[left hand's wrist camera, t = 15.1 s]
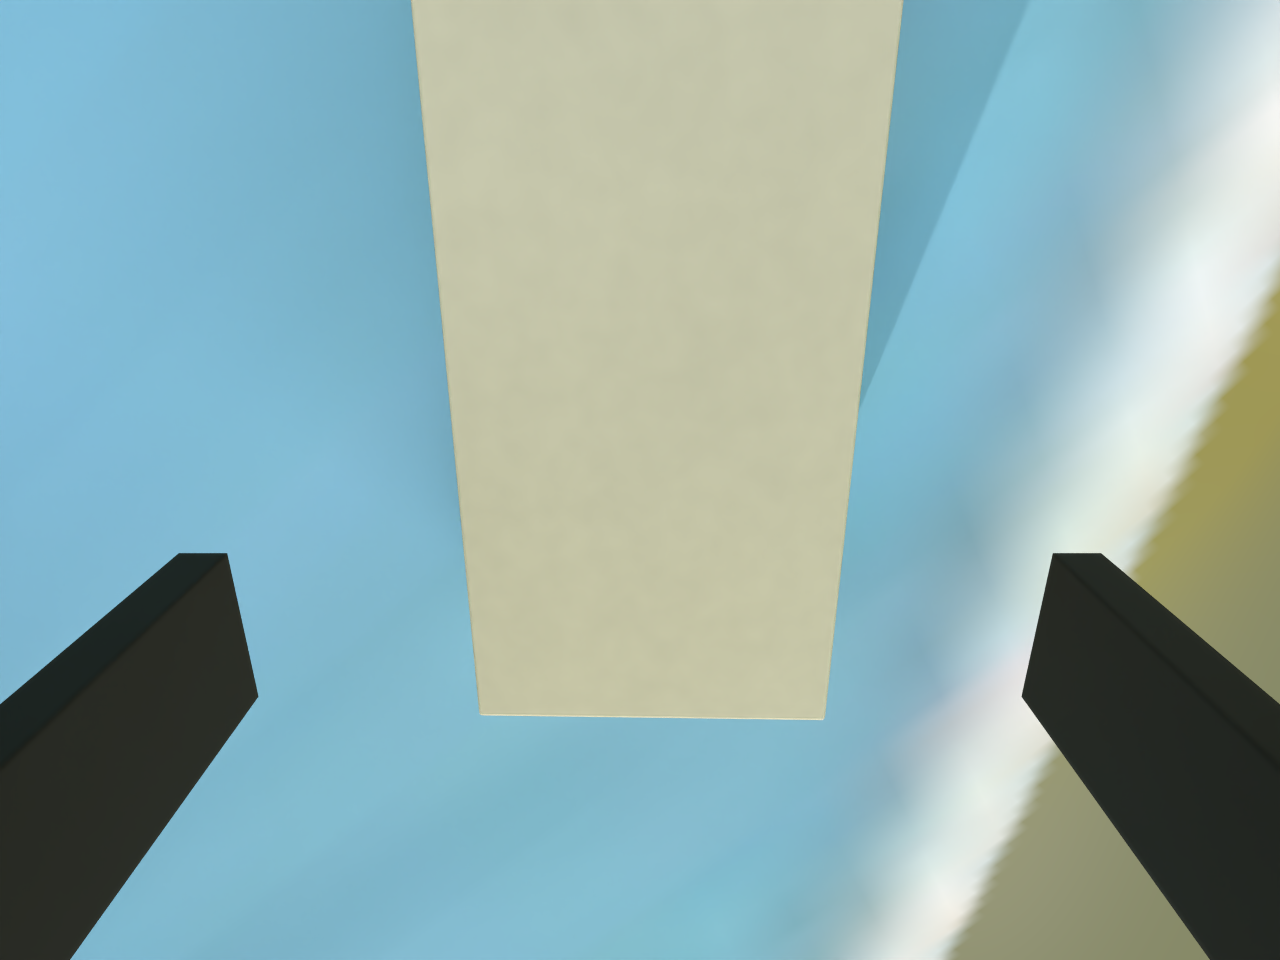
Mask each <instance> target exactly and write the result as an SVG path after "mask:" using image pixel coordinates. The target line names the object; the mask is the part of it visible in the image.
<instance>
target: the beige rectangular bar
mask: <svg viewBox="0 0 1280 960" xmlns="http://www.w3.org/2000/svg"><path fill="white" fill-rule="evenodd" d="M411 7H412V17H413V28H414V38H415V48H416V59H417V69H418V80H419V90H420V100H421V111H422V121H423V132H424V142H425V153H426V163H427V173H428V184H429V194H430V205H431V215H432V225H433V236H434V246H435V257H436V267H437V277H438V288H439V298H440V309H441V319H442V329H443V340H444V350H445V361H446V371H447V381H448V392H449V402H450V413H451V423H452V433H453V444H454V454H455V465H456V475H457V485H458V496H459V506H460V517H461V527H462V537H463V548H464V558H465V569H466V579H467V589H468V600H469V610H470V621H471V631H472V641H473V652H474V662H475V673H476V683H477V693H478V704H479V713H480V715H503V716H577V717H650V718H723V719H797V720H823V719H824V717H825V710H826V701H827V692H828V683H829V674H830V665H831V656H832V647H833V637H834V628H835V619H836V610H837V601H838V592H839V583H840V574H841V565H842V555H843V546H844V537H845V528H846V519H847V510H848V501H849V492H850V483H851V473H852V464H853V455H854V446H855V437H856V428H857V419H858V410H859V401H860V391H861V382H862V373H863V364H864V355H865V346H866V337H867V328H868V319H869V310H870V300H871V291H872V282H873V273H874V264H875V255H876V246H877V237H878V228H879V218H880V209H881V200H882V191H883V182H884V173H885V164H886V155H887V146H888V136H889V127H890V118H891V109H892V100H893V91H894V82H895V73H896V64H897V54H898V45H899V36H900V27H901V18H902V9H903V0H411Z"/></svg>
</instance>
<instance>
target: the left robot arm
mask: <svg viewBox="0 0 1280 960" xmlns="http://www.w3.org/2000/svg"><path fill="white" fill-rule="evenodd" d="M257 698H258V693H257V688H256V683H255V679H254V674H253V670H252V665H251V660H250V656H249V651H248V647H247V642H246V638H245V633H244V628H243V624H242V619H241V615H240V610H239V606H238V601H237V596H236V592H235V587H234V583H233V578H232V574H231V569H230V564H229V560H228V555H227V553H179V554H177V555H176V556H175V557H174V558H173V559H172V560H170V561H169V562H168V563H167V564H166V565H164V566H163V567H162V568H161V569H160V570H159V571H157V572H156V573H155V574H154V575H153V576H151V577H150V578H149V579H148V580H147V581H146V582H144V583H143V584H142V585H141V586H140V587H138V588H137V589H136V590H135V591H134V592H133V593H131V594H130V595H129V596H128V597H127V598H125V599H124V600H123V601H122V602H121V603H120V604H118V605H117V606H116V607H115V608H114V609H112V610H111V611H110V612H109V613H108V614H107V615H105V616H104V617H103V618H102V619H101V620H99V621H98V622H97V623H96V624H95V625H94V626H92V627H91V628H90V629H89V630H88V631H86V632H85V633H84V634H83V635H82V636H80V637H79V638H78V639H77V640H76V641H75V642H73V643H72V644H71V645H70V646H69V647H67V648H66V649H65V650H64V651H63V652H62V653H60V654H59V655H58V656H57V657H56V658H54V659H53V660H52V661H51V662H50V663H49V664H47V665H46V666H45V667H44V668H43V669H41V670H40V671H39V672H38V673H37V674H36V675H34V676H33V677H32V678H31V679H30V680H28V681H27V682H26V683H25V684H24V685H23V686H21V687H20V688H19V689H18V690H17V691H15V692H14V693H13V694H12V695H11V696H10V697H8V698H7V699H6V700H5V701H4V702H2V703H1V704H0V960H70V959H71V958H72V956H73V955H74V953H75V952H76V951H77V949H78V948H79V946H80V945H81V944H82V942H83V941H84V939H85V938H86V937H87V935H88V934H89V932H90V931H91V930H92V928H93V927H94V925H95V924H96V923H97V921H98V920H99V918H100V917H101V916H102V914H103V913H104V911H105V910H106V909H107V907H108V906H109V905H110V903H111V902H112V900H113V899H114V898H115V896H116V895H117V893H118V892H119V891H120V889H121V888H122V886H123V885H124V884H125V882H126V881H127V879H128V878H129V877H130V875H131V874H132V872H133V871H134V870H135V868H136V867H137V865H138V864H139V863H140V861H141V860H142V858H143V857H144V856H145V854H146V853H147V851H148V850H149V849H150V847H151V846H152V844H153V843H154V842H155V840H156V839H157V837H158V836H159V835H160V833H161V832H162V830H163V829H164V828H165V826H166V825H167V823H168V822H169V821H170V819H171V818H172V817H173V815H174V814H175V812H176V811H177V810H178V808H179V807H180V805H181V804H182V803H183V801H184V800H185V798H186V797H187V796H188V794H189V793H190V791H191V790H192V789H193V787H194V786H195V784H196V783H197V782H198V780H199V779H200V777H201V776H202V775H203V773H204V772H205V770H206V769H207V768H208V766H209V765H210V763H211V762H212V761H213V759H214V758H215V756H216V755H217V754H218V752H219V751H220V749H221V748H222V747H223V745H224V744H225V742H226V741H227V740H228V738H229V737H230V735H231V734H232V733H233V731H234V730H235V729H236V727H237V726H238V724H239V723H240V722H241V720H242V719H243V717H244V716H245V715H246V713H247V712H248V710H249V709H250V708H251V706H252V705H253V703H254V702H255V701H256V699H257ZM1022 698H1023V699H1024V701H1025V702H1026V703H1027V705H1028V706H1029V708H1030V709H1031V710H1032V712H1033V713H1034V715H1035V716H1036V717H1037V719H1038V720H1039V722H1040V723H1041V724H1042V726H1043V727H1044V729H1045V730H1046V731H1047V733H1048V734H1049V735H1050V737H1051V738H1052V740H1053V741H1054V742H1055V744H1056V745H1057V747H1058V748H1059V749H1060V751H1061V752H1062V754H1063V755H1064V756H1065V758H1066V759H1067V761H1068V762H1069V763H1070V765H1071V766H1072V768H1073V769H1074V770H1075V772H1076V773H1077V775H1078V776H1079V777H1080V779H1081V780H1082V782H1083V783H1084V784H1085V786H1086V787H1087V789H1088V790H1089V791H1090V793H1091V794H1092V795H1093V797H1094V798H1095V800H1096V801H1097V803H1098V804H1099V805H1100V807H1101V808H1102V810H1103V811H1104V812H1105V814H1106V815H1107V816H1108V818H1109V819H1110V821H1111V822H1112V823H1113V825H1114V826H1115V828H1116V829H1117V830H1118V832H1119V833H1120V835H1121V836H1122V837H1123V839H1124V840H1125V842H1126V843H1127V844H1128V846H1129V847H1130V849H1131V850H1132V851H1133V853H1134V854H1135V856H1136V857H1137V858H1138V860H1139V861H1140V863H1141V864H1142V865H1143V867H1144V868H1145V870H1146V871H1147V872H1148V874H1149V875H1150V876H1151V878H1152V879H1153V881H1154V882H1155V884H1156V885H1157V886H1158V888H1159V889H1160V891H1161V892H1162V893H1163V895H1164V896H1165V897H1166V899H1167V900H1168V902H1169V903H1170V904H1171V906H1172V907H1173V909H1174V910H1175V911H1176V913H1177V914H1178V916H1179V917H1180V918H1181V920H1182V921H1183V923H1184V924H1185V925H1186V927H1187V928H1188V930H1189V931H1190V932H1191V934H1192V935H1193V937H1194V938H1195V939H1196V941H1197V942H1198V944H1199V945H1200V946H1201V948H1202V949H1203V951H1204V952H1205V953H1206V955H1207V956H1208V958H1209V959H1210V960H1280V704H1279V703H1277V702H1276V701H1275V700H1274V699H1273V698H1272V697H1270V696H1269V695H1268V694H1267V693H1266V692H1265V691H1263V690H1262V689H1261V688H1260V687H1259V686H1257V685H1256V684H1255V683H1254V682H1253V681H1252V680H1250V679H1249V678H1248V677H1247V676H1246V675H1244V674H1243V673H1242V672H1241V671H1240V670H1238V669H1237V668H1236V667H1235V666H1234V665H1233V664H1231V663H1230V662H1229V661H1228V660H1227V659H1226V658H1224V657H1223V656H1222V655H1221V654H1220V653H1218V652H1217V651H1216V650H1215V649H1214V648H1212V647H1211V646H1210V645H1209V644H1208V643H1207V642H1205V641H1204V640H1203V639H1202V638H1201V637H1199V636H1198V635H1197V634H1196V633H1195V632H1194V631H1192V630H1191V629H1190V628H1189V627H1188V626H1186V625H1185V624H1184V623H1183V622H1182V621H1181V620H1179V619H1178V618H1177V617H1176V616H1175V615H1173V614H1172V613H1171V612H1170V611H1169V610H1168V609H1166V608H1165V607H1164V606H1163V605H1162V604H1160V603H1159V602H1158V601H1157V600H1156V599H1154V598H1153V597H1152V596H1151V595H1150V594H1149V593H1147V592H1146V591H1145V590H1144V589H1143V588H1142V587H1140V586H1139V585H1138V584H1137V583H1136V582H1134V581H1133V580H1132V579H1131V578H1130V577H1129V576H1127V575H1126V574H1125V573H1124V572H1123V571H1121V570H1120V569H1119V568H1118V567H1117V566H1116V565H1114V564H1113V563H1112V562H1111V561H1110V560H1108V559H1107V558H1106V557H1105V556H1104V555H1103V554H1101V553H1053V555H1052V560H1051V564H1050V569H1049V574H1048V578H1047V583H1046V587H1045V592H1044V596H1043V601H1042V606H1041V610H1040V615H1039V619H1038V624H1037V628H1036V633H1035V638H1034V642H1033V647H1032V651H1031V656H1030V660H1029V665H1028V670H1027V674H1026V679H1025V683H1024V688H1023V693H1022Z"/></svg>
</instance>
